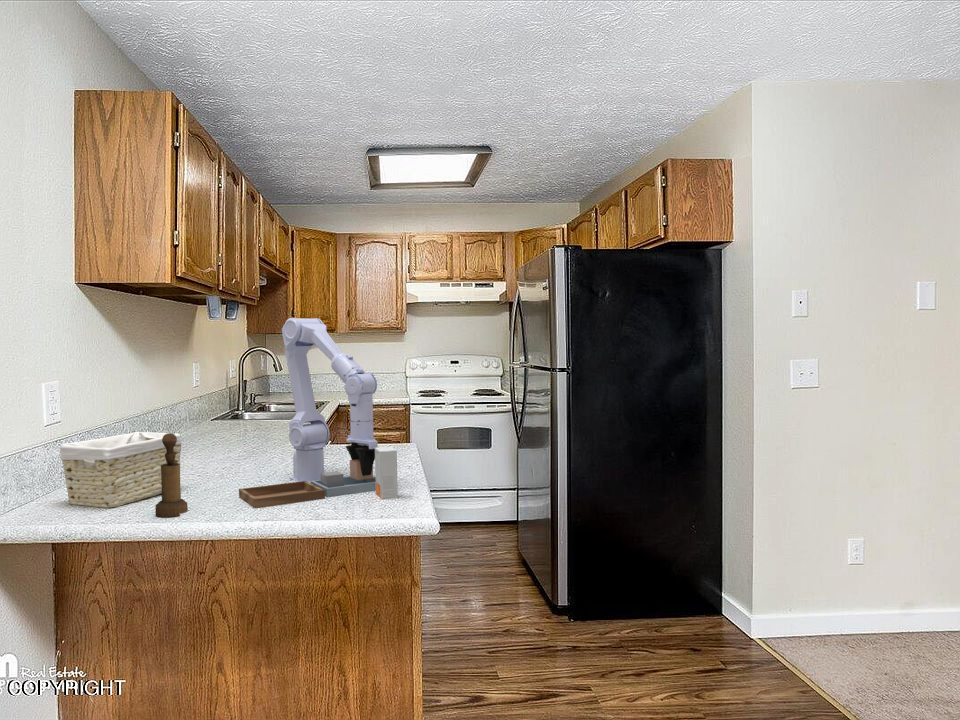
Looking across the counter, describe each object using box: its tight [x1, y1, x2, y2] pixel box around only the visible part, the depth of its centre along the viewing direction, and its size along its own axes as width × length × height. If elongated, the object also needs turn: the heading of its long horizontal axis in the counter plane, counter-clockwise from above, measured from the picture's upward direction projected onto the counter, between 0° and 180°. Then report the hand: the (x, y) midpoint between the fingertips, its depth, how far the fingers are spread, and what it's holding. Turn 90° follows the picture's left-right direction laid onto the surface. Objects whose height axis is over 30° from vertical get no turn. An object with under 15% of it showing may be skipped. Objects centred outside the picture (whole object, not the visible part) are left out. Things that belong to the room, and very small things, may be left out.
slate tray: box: [309, 475, 376, 498], centre depth 183 cm, size 12×16×2 cm
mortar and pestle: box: [154, 432, 189, 518], centre depth 162 cm, size 7×6×18 cm
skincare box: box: [374, 446, 399, 500], centre depth 175 cm, size 6×4×12 cm
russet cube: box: [349, 459, 374, 480], centre depth 185 cm, size 4×4×4 cm
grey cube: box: [320, 470, 345, 488], centre depth 181 cm, size 4×4×4 cm
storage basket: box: [59, 431, 182, 509], centre depth 180 cm, size 24×16×15 cm
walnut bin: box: [238, 481, 326, 509], centre depth 174 cm, size 14×17×2 cm
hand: (362, 473), depth 185 cm, fingers closed on russet cube, 4 cm apart
